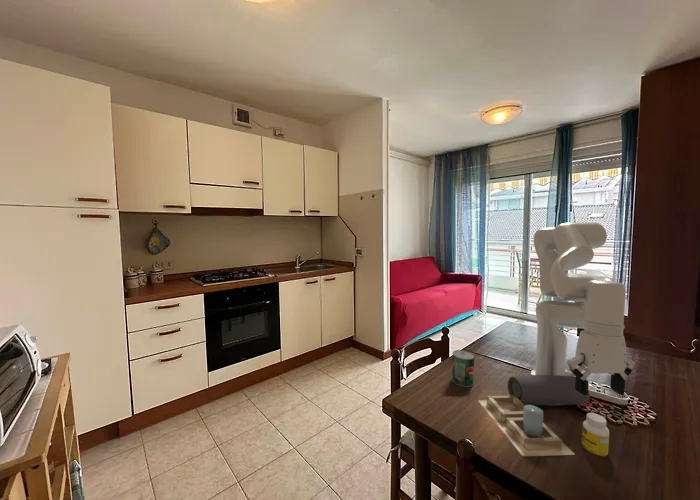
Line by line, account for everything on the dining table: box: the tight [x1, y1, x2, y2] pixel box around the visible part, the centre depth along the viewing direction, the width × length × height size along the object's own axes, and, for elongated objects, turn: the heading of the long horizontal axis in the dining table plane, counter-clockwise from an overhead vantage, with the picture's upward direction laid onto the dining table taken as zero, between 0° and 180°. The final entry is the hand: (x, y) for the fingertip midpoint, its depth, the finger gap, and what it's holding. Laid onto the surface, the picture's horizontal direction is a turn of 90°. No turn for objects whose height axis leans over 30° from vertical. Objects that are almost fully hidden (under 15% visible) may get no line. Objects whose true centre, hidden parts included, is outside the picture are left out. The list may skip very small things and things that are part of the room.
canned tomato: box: [451, 349, 475, 388], centre depth 111 cm, size 8×8×11 cm
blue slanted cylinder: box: [523, 404, 544, 438], centre depth 80 cm, size 5×5×8 cm
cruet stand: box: [477, 395, 576, 457], centre depth 85 cm, size 24×14×4 cm, turn 2°
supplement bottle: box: [581, 412, 610, 457], centre depth 76 cm, size 5×5×10 cm
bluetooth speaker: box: [507, 374, 591, 407], centre depth 96 cm, size 23×9×10 cm, turn 93°
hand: (599, 392), depth 74 cm, fingers open, 9 cm apart
